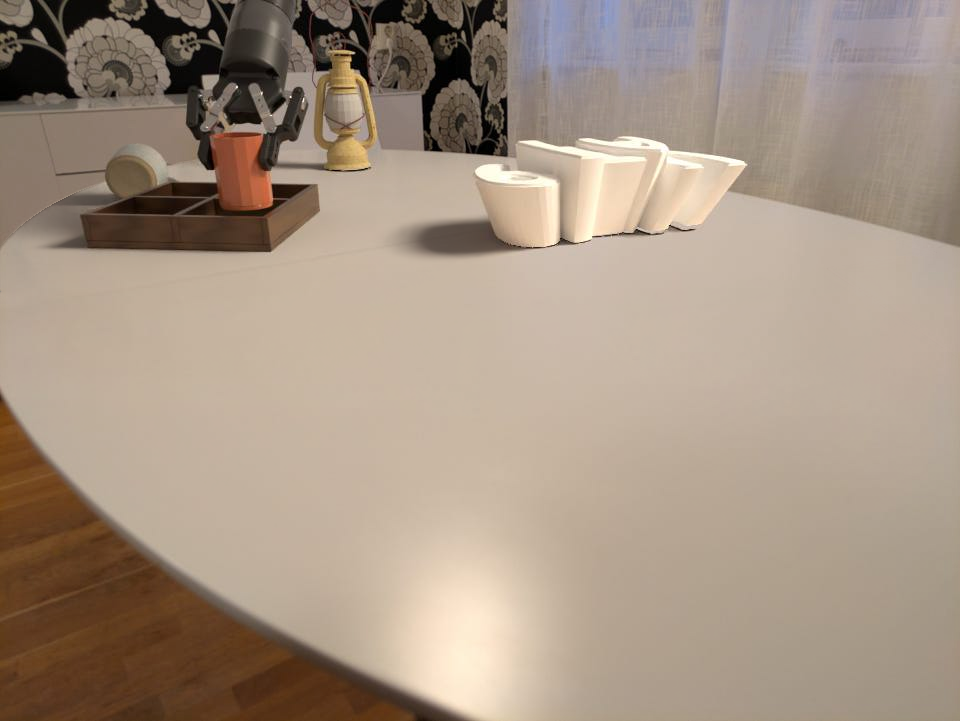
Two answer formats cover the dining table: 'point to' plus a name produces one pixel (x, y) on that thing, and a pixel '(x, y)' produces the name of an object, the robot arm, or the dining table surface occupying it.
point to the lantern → (343, 110)
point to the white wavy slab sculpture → (600, 189)
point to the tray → (198, 219)
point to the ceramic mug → (136, 170)
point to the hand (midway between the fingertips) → (235, 166)
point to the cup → (240, 171)
